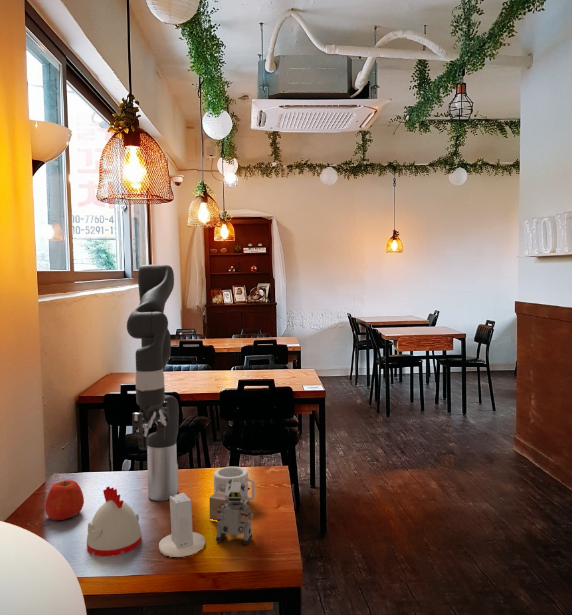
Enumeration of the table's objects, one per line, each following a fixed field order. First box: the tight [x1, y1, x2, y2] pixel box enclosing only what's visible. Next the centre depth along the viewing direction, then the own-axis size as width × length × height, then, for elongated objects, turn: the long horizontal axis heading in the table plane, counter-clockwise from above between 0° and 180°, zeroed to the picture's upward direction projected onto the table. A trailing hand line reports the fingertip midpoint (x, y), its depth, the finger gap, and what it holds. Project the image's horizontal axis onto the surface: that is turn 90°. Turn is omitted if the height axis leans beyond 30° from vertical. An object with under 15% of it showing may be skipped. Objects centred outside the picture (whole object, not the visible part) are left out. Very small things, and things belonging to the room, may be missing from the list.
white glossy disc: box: [158, 531, 206, 558], centre depth 140 cm, size 12×12×1 cm
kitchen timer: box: [86, 486, 142, 557], centre depth 142 cm, size 14×14×15 cm
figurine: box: [215, 478, 254, 546], centre depth 144 cm, size 9×12×15 cm
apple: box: [44, 479, 85, 521], centre depth 158 cm, size 11×11×11 cm
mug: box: [213, 466, 256, 505], centre depth 166 cm, size 14×11×10 cm
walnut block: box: [209, 491, 228, 520], centre depth 156 cm, size 5×5×7 cm
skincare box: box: [169, 492, 194, 548], centre depth 140 cm, size 6×4×12 cm
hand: (152, 444), depth 144 cm, fingers open, 8 cm apart
